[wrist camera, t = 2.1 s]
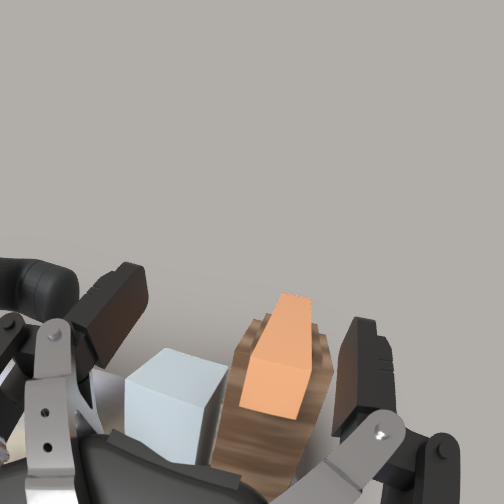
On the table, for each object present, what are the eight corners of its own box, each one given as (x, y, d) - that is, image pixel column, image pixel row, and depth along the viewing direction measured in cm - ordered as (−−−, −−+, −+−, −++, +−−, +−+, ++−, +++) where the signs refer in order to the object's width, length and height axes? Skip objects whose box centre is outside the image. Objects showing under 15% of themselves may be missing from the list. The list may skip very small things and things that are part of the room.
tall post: (262, 536, 30) (337, 361, 27) (199, 520, 31) (237, 339, 29) (271, 488, 42) (328, 326, 39) (217, 476, 43) (255, 310, 40)
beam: (295, 419, 18) (311, 370, 18) (238, 406, 19) (250, 356, 19) (304, 325, 42) (310, 298, 41) (276, 319, 42) (282, 292, 42)
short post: (186, 516, 32) (204, 407, 30) (128, 493, 33) (125, 378, 31) (207, 472, 43) (228, 366, 41) (156, 455, 45) (165, 347, 43)
